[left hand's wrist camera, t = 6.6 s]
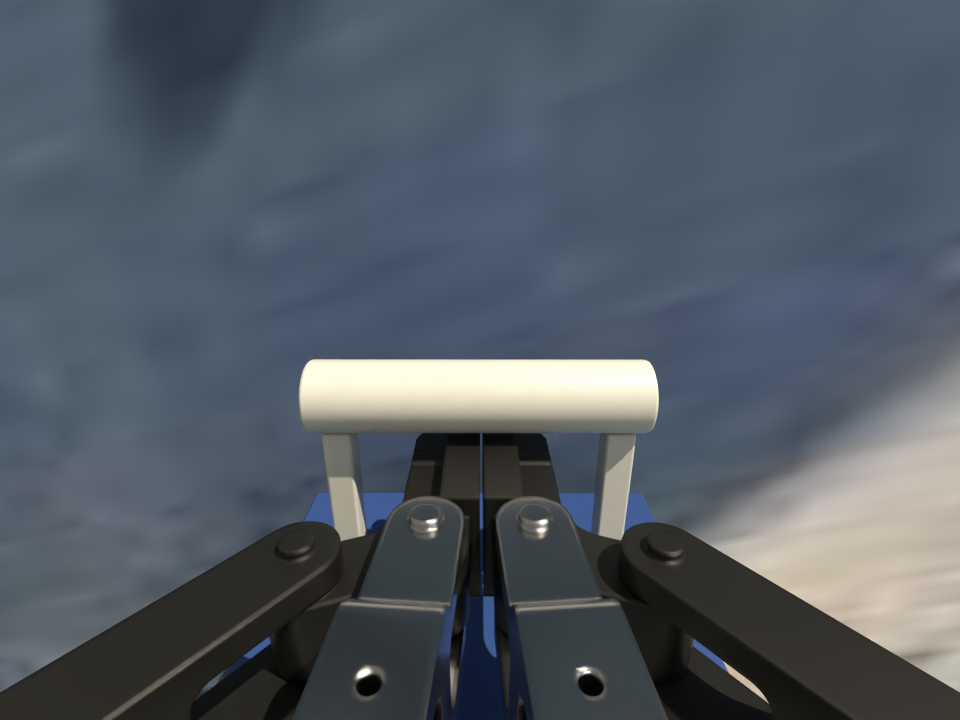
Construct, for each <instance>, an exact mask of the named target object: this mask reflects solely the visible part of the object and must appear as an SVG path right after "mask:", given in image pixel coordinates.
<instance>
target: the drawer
mask: <svg viewBox="0 0 960 720" xmlns="http://www.w3.org/2000/svg"><path fill="white" fill-rule="evenodd" d="M658 400H659V397H658V385H657V379H656V375H655V372H654V369H653V367H652V365H651V364H650V363H649V362H648V361H646V360H311V361H309V362H308V363H307V364H306V365H305V367H304V370H303V372H302V376H301V380H300V386H299V411H300V417H301V421H302V424H303V426H304V428H305V430H306V431H308V432H310V433H323V435H322V442H323V450H324V458H325V465H326V473H327V481H328V488H329V493H317V494H316V496H315V498H314V500H313V502H312V504H311V506H310V509H309V511H308V513H307V515H306V517H305V519H304V521H303V522H305V521H316V522H322V523H325V524H328V525H330V526H332V527H333V528H334V529H336V530H337V532H338V533H339V536H340V539H341V541H343V540H347V539H352V538H356V537H360V536H364V535H368V534H371V533H373V532H376V531H378V530H380V529H382V528H384V526H385V523H386V520H387V518H388V516H389V514H390V513H391V511H392V510H393V509H394V508H395V507H396V506H398V505H399V504H401V503H402V502H403V498H404V493H363V488H362V478H361V468H360V458H359V448H358V439H357V433H600V443H599V453H598V463H597V473H596V483H595V493H559V496H560V501H561V505H562V506H564V507H565V508H566V509H567V510H568V511H569V513H570V514H571V516H572V518H573V520H574V523H575V524H576V525H577V526H579V527H580V528H582V529H584V530H586V531H588V532H591V533H593V534H597V535H600V536H604V537H609V538H613V539H617V540H621V539H622V536H623V534H624V533H625V531H626V530H628V529H629V528H630V527H632V526H634V525H637V524H640V523H647V522H655V520H654V518H653V516H652V514H651V511H650V509H649V507H648V505H647V503H646V501H645V499H644V497H643V495H642V494H641V493H629V487H630V479H631V472H632V464H633V456H634V448H635V440H636V436H635V434H634V433H648V432H650V431H651V430H652V429H653V427H654V425H655V422H656V418H657V413H658ZM655 523H656V522H655ZM269 644H270V638H269V637H268V638H267V639H265V640H264V641H263V642H261V643H260V644H259V645H257V646H256V647H255V648H253V649H252V650H251V651H249V652H248V653H247V654H245V655H244V656H243V657H241V658H240V659H239V660H237V661H236V662H235V663H233V665H232V667H231V669H230V671H229V673H228V675H230V674H231V673H232V672H234V671H235V670H236V669H238V668H239V667H240V666H242V665H243V664H244V663H245V662H247V661H248V660H249V659H251V658H252V657H253V656H255V655H256V654H257V653H259V652H260V651H261V650H263V649H264V648H265V647H266V646H268V645H269ZM693 646H694V647H695V648H696V649H697V650H699V651H700V652H701V653H703V654H704V655H705V656H707V657H708V658H709V659H711V660H712V661H713V662H715V663H716V664H717V665H718V666H720V667H721V668H722V669H724V670H725V671H726V672H728V671H727V669H726V667H725V665H724V663H723V660H721V659H720V658H719V657H717V656H716V655H715V654H713V653H712V652H711V651H709V650H708V649H707V648H705V647H704V646H703V645H701V644H700V643H699V642H697V641H696V640H695V639H694V642H693ZM228 675H227V676H228ZM456 720H504V716H503V707H502V699H501V690H500V681H499V673H498V664H497V656H496V647H495V638H494V597H483V493H480V597H470V599H469V617H468V620H467V623H466V638H465V647H464V656H463V664H462V673H461V681H460V690H459V699H458V707H457V716H456Z"/></svg>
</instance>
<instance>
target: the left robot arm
mask: <svg viewBox="0 0 960 720" xmlns="http://www.w3.org/2000/svg"><path fill="white" fill-rule="evenodd" d="M482 485H483V597H494V638H495V647H496V656H497V664H498V673H499V681H500V690H501V699H502V707H503V716H504V720H960V692H958V691H956V690H954V689H953V688H951V687H949V686H948V685H946V684H944V683H943V682H941V681H939V680H938V679H936V678H934V677H932V676H931V675H929V674H927V673H926V672H924V671H922V670H921V669H919V668H917V667H915V666H914V665H912V664H910V663H909V662H907V661H905V660H904V659H902V658H900V657H898V656H897V655H895V654H893V653H892V652H890V651H888V650H887V649H885V648H883V647H881V646H880V645H878V644H876V643H875V642H873V641H871V640H870V639H868V638H866V637H864V636H863V635H861V634H859V633H858V632H856V631H854V630H853V629H851V628H849V627H847V626H846V625H844V624H842V623H841V622H839V621H837V620H836V619H834V618H832V617H830V616H829V615H827V614H825V613H824V612H822V611H820V610H819V609H817V608H815V607H813V606H812V605H810V604H808V603H807V602H805V601H803V600H802V599H800V598H798V597H796V596H795V595H793V594H791V593H790V592H788V591H786V590H785V589H783V588H781V587H779V586H778V585H776V584H774V583H773V582H771V581H769V580H768V579H766V578H764V577H762V576H761V575H759V574H757V573H756V572H754V571H752V570H751V569H749V568H747V567H745V566H744V565H742V564H740V563H739V562H737V561H735V560H734V559H732V558H730V557H729V556H727V555H725V554H723V553H722V552H720V551H718V550H717V549H715V548H713V547H712V546H710V545H708V544H706V543H705V542H703V541H701V540H700V539H698V538H696V537H695V536H693V535H691V534H689V533H688V532H686V531H684V530H682V529H680V528H677V527H675V526H671V525H668V524H663V523H655V522H647V523H640V524H637V525H634V526H632V527H630V528H629V529H628V530H626V531H625V533H624V534H623V536H622V539H621V540H617V539H613V538H609V537H604V536H600V535H597V534H593V533H591V532H588V531H586V530H584V529H582V528H580V527H579V526H577V525H576V524H575V523H574V520H573V518H572V516H571V514H570V513H569V511H568V510H567V509H566V508H565V507H564V506H562V505H561V501H560V496H559V492H558V488H557V484H556V479H555V475H554V471H553V467H552V462H551V458H550V454H549V450H548V445H547V441H546V438H545V437H544V436H543V435H542V434H541V433H483V450H482ZM470 597H480V433H422V434H421V435H420V436H419V437H418V438H417V440H416V445H415V449H414V455H413V458H412V462H411V467H410V471H409V476H408V480H407V484H406V489H405V493H404V498H403V502H402V503H401V504H399V505H398V506H396V507H395V508H394V509H393V510H392V511H391V513H390V514H389V516H388V518H387V520H386V523H385V526H384V528H382V529H380V530H378V531H376V532H373V533H371V534H368V535H364V536H360V537H356V538H352V539H347V540H343V541H341V539H340V536H339V533H338V532H337V530H336V529H334V528H333V527H332V526H330V525H328V524H325V523H322V522H316V521H305V522H298V523H293V524H290V525H287V526H284V527H282V528H280V529H278V530H276V531H274V532H272V533H271V534H269V535H267V536H265V537H264V538H262V539H260V540H259V541H257V542H255V543H254V544H252V545H250V546H249V547H247V548H245V549H243V550H242V551H240V552H238V553H237V554H235V555H233V556H232V557H230V558H228V559H226V560H225V561H223V562H221V563H220V564H218V565H216V566H215V567H213V568H211V569H209V570H208V571H206V572H204V573H203V574H201V575H199V576H198V577H196V578H194V579H192V580H191V581H189V582H187V583H186V584H184V585H182V586H181V587H179V588H177V589H175V590H174V591H172V592H170V593H169V594H167V595H165V596H164V597H162V598H160V599H158V600H157V601H155V602H153V603H152V604H150V605H148V606H147V607H145V608H143V609H141V610H140V611H138V612H136V613H135V614H133V615H131V616H130V617H128V618H126V619H124V620H123V621H121V622H119V623H118V624H116V625H114V626H113V627H111V628H109V629H107V630H106V631H104V632H102V633H101V634H99V635H97V636H96V637H94V638H92V639H90V640H89V641H87V642H85V643H84V644H82V645H80V646H79V647H77V648H75V649H73V650H72V651H70V652H68V653H67V654H65V655H63V656H62V657H60V658H58V659H56V660H55V661H53V662H51V663H50V664H48V665H46V666H45V667H43V668H41V669H40V670H38V671H36V672H34V673H33V674H31V675H29V676H28V677H26V678H24V679H23V680H21V681H19V682H17V683H16V684H14V685H12V686H11V687H9V688H7V689H6V690H4V691H2V692H0V720H456V716H457V707H458V699H459V690H460V681H461V673H462V664H463V656H464V647H465V638H466V623H467V620H468V617H469V599H470ZM268 637H269V638H270V644H269V645H268V646H266V647H265V648H264V649H263V650H261V651H260V652H259V653H257V654H256V655H255V656H253V657H252V658H251V659H249V660H248V661H247V662H245V663H244V664H243V665H242V666H240V667H239V668H238V669H236V670H235V671H234V672H232V673H231V674H230V675H228V676H227V677H226V678H224V679H223V680H222V681H221V682H219V683H218V684H217V685H215V686H214V687H213V688H211V689H210V690H209V691H207V692H206V693H205V694H203V695H202V696H201V697H199V698H198V699H197V700H196V701H194V700H195V698H196V697H197V695H198V694H199V692H200V691H201V690H202V689H203V687H204V686H205V685H206V684H207V683H208V682H210V681H211V680H212V679H213V678H215V677H216V676H217V675H219V674H220V673H221V672H223V671H224V670H225V669H227V668H228V667H229V666H231V665H232V664H233V663H235V662H236V661H237V660H239V659H240V658H241V657H243V656H244V655H245V654H247V653H248V652H249V651H251V650H252V649H253V648H255V647H256V646H257V645H259V644H260V643H261V642H263V641H264V640H265V639H267V638H268ZM694 639H695V640H696V641H697V642H699V643H700V644H701V645H703V646H704V647H705V648H707V649H708V650H709V651H711V652H712V653H713V654H715V655H716V656H717V657H719V658H720V659H721V660H723V661H724V662H725V663H727V664H728V665H729V666H731V667H732V668H733V669H735V670H736V671H737V672H739V673H740V674H741V675H743V676H744V677H745V678H747V679H748V680H749V681H751V682H752V683H753V684H754V685H755V686H756V687H757V688H758V689H759V690H760V691H761V692H762V693H763V695H764V696H765V697H766V699H767V701H768V703H769V704H768V703H767V702H766V701H764V700H763V699H762V698H761V697H759V696H758V695H757V694H755V693H754V692H753V691H751V690H750V689H749V688H747V687H746V686H745V685H743V684H742V683H741V682H740V681H738V680H737V679H736V678H734V677H733V676H732V675H730V674H729V673H728V672H726V671H725V670H724V669H722V668H721V667H720V666H718V665H717V664H716V663H715V662H713V661H712V660H711V659H709V658H708V657H707V656H705V655H704V654H703V653H701V652H700V651H699V650H697V649H696V648H695V647H694V646H693V642H694Z"/></svg>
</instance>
